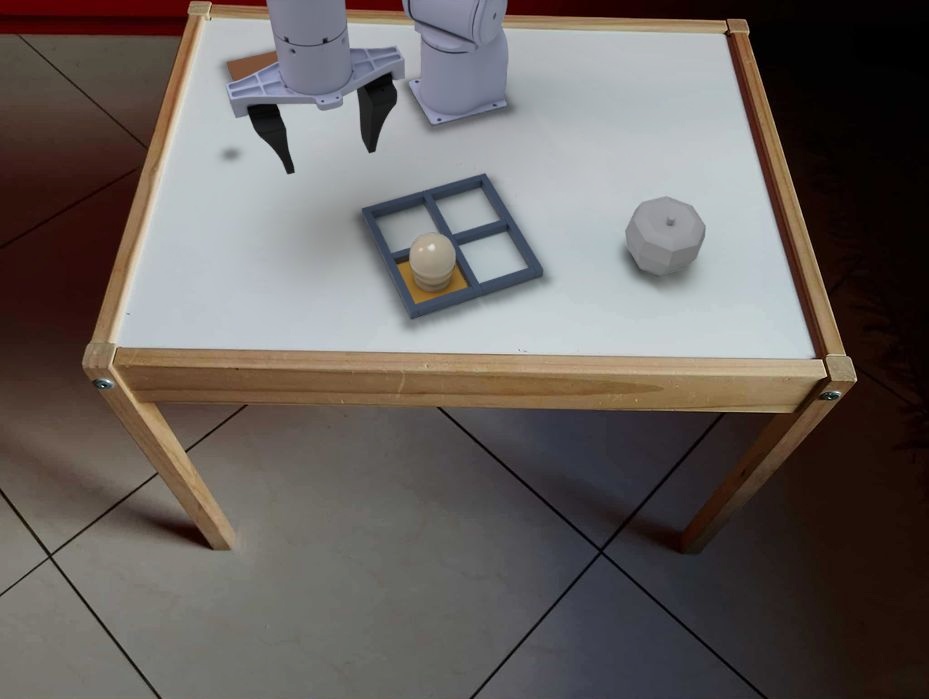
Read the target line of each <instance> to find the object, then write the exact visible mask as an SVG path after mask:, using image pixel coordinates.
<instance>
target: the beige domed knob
mask: <svg viewBox="0 0 929 699" xmlns="http://www.w3.org/2000/svg"><path fill="white" fill-rule="evenodd" d="M410 247H411V248H410ZM410 247H409V248H410V253H409V264H410V269H411V272H412V274H413V275H414V281H415V284H416V285H417V287H418V288H419V289H421V290H422V291H425V292H428V293H437V292H440V291H442V290H444V289H445V288H447V286H448V285H449V283H450V280H451V275H452V274H453V272H454V269H455V264H456V263H455V262H456V253H455V248H454V246H453V244H452V242H451V241H450V240H449V239H448V238H447V237H446V236H444V235H442V234H440V233H439V232H432V231H431V232H426V233H423V234H421V235H419V236H418V237H416V239H414V241H413V242H412V244H411V246H410Z"/></svg>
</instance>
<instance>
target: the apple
mask: <svg viewBox="0 0 929 699" xmlns="http://www.w3.org/2000/svg"><path fill="white" fill-rule="evenodd" d="M706 227H707V226H706V223H705V222H704V221H703V220H702V218H701V216H700V215H699V213H698V212H697V210H696V209H695V207H694V206H693V205H691V204H689V203H687V202H684V201H681V200H678V199H675V198H673V197H671V196H667V195H665V196H662V197H657V198H653V199H649V200H645V201H641V203H639V205H638V206H637V207H636V208H635V209H634V211H633V213H632V215H631V216H630V220H629V221H628V224H627V226H626V228H625V230H624V234H625V241H626V246H627V248H628V250H629V252H630V254H631V256H632V258H633V259H634V262H635V263H636V265H637V266H638V268H639V269H640V271H641V270H642V271H644V272H646V273H649V274H651V275H654V276H656V277H662V276H664V275H669V274H671V273H675V272H678V271H681V270H684V269H686V268H687V267H688V266H689V265H691V264H692V263H693V262H694V261H695V260H696V259H698V255H699V253H700V250H701V248H702V245H703V244H704V241H705V238H706Z"/></svg>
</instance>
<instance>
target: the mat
mask: <svg viewBox="0 0 929 699" xmlns="http://www.w3.org/2000/svg"><path fill="white" fill-rule="evenodd" d="M276 62H278V57H277V52H276V50H274V51H270V52H265V53H261V54H255V55H251V56H247V57H242V58H238V59H234V60H229V61H226V66H227V69H228V70H229V74H230V75H231V78H232V80H233V81H232V82H235V81H238V80H241V79H243V78H245V77H248V76H250V75H252V74H254V73H256V72H258V71H260V70H262V69H264V68H266V67H268V66H270V65H272V64H274V63H276Z"/></svg>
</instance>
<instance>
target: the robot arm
mask: <svg viewBox="0 0 929 699" xmlns="http://www.w3.org/2000/svg"><path fill="white" fill-rule="evenodd" d="M265 1H266V6H267V11H268V16H269V21H270V27H271V31H272V37H273V42H274V46H275V51H276V52H277V57H278V62H276V63H274V64H272V65H270V66H268V67H266V68H264V69H262V70H260V71H258V72H256V73H254V74H252V75H250V76H248V77H245V78H243V79H241V80H238V81H235V82H234V81H231V82H228V83H225V84H224V86H225V90H226V94H227V98H228V100H229V104H230V107H231V110H232V112H233V115H234V118H235V119H239V118H243V117H247V116H248V118H249V120H250V123H251V126H252V127H253V129H254V131H255V133H256V134H257V135H258V137H259V138H260V139H262V140H263V141H264V142H265V143H267V145H269V147H270V148H271V149H272V150H273V151H274V152H275V154H276V155H277V157H278V158H279V159H280V161H281V163H282V165H283V168H284V170H285V172H286V175H292V174H295V173H296V171H295V170H296V169H295V165H294V162H293V159H292V155H291V153H290V148H289V142H288V132H287V127H286V125H285V122H284V120H283V118H282V114H281V110H280V108H279V106H278V105H316V108H317V109H318V110H319V111H322V112H324V111H325V112H326V111H330V110H333V109H338V108H341V107H342V106H343V105H344V98H343V97H345V96H347V95H349V94H351V93H352V92H354V91H356V94H357V101H358V108H359V111H358V112H359V129H360V136H361V140H362V142H363V144H364V146H365V148H366V150H367V152H368V154H373V153H376V151H377V147H378V142H379V138H380V135H381V132H382V129H383V126H384V124H385V122H386V119H387V118H388V116H389V114H390V113H391V111H392V110H393V109H394V107H395V106H396V105H397V103H398V89H397V88H396V86H395V84H394V81H401V80H403V79H406V70H405V68H406V66H405V64H406V63H405V62H406V61H405V60H406V59H405V57H403V54H402V52H401V51H400V49H399V47H398V46H397V45H392V46H386V47H350V46H351V45H350V37H349V28H348V19H347V8H346V0H265ZM401 1H402V7H403V11H404V14H405V15H406V17H407V18H408V19H409V20H411V21H413V24H414V25H413V26H414V27H413V28H414V31H415V32H417V33H418V34H419V35H420V78H416V79H412V80H410V81H409V82H408V87H409V89H410V90H411V92H412V94H413V95H414V97H415V99H416V101H417V102H418V104H419V106H420V108H421V109H422V111H423V113H424V115H425V116H426V118H427V120H428V121H429V123H430V124H431V126H432V127H436V126H439V125H443V124H447V123H451V122H455V121H459V120H463V119H466V118H471V117H474V116H477V115H482V114H484V113H490V112H493V111H497V110H500V109H504V108H506V107H507V101H506V100H505V97H506V96H505V95H506V87H507V86H506V85H507V75H508V68H509V67H508V66H509V45H508V39H507V36H506V33H505V30H504V28H503V27H502V25H503V23H504V19H505V16H506V12H507V8H508V0H401Z"/></svg>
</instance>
